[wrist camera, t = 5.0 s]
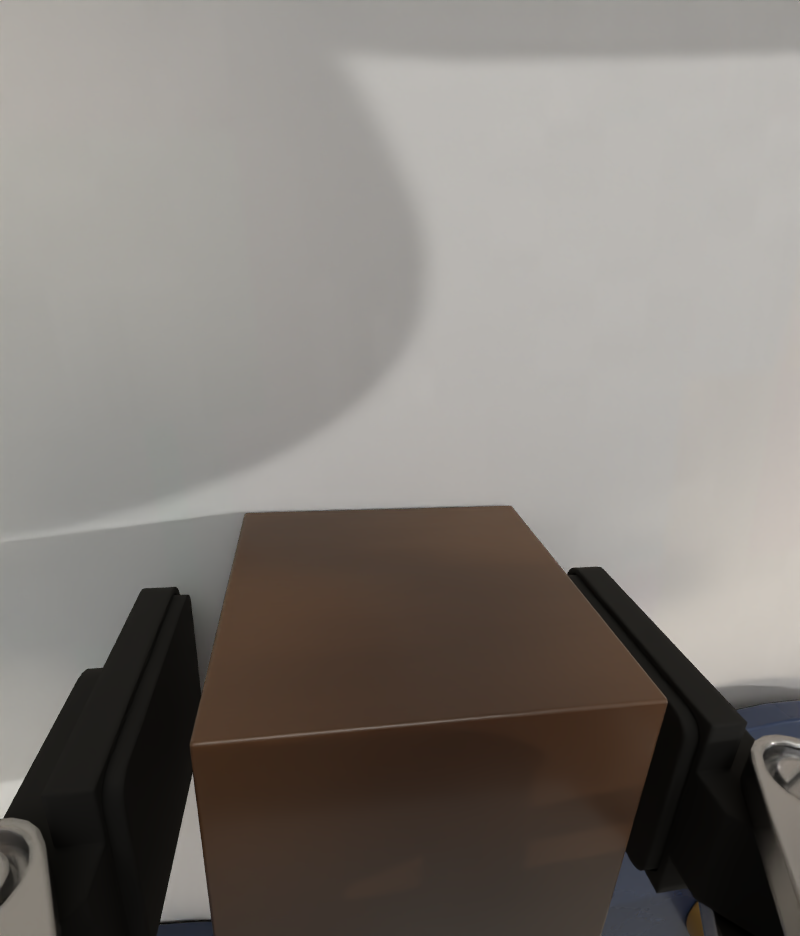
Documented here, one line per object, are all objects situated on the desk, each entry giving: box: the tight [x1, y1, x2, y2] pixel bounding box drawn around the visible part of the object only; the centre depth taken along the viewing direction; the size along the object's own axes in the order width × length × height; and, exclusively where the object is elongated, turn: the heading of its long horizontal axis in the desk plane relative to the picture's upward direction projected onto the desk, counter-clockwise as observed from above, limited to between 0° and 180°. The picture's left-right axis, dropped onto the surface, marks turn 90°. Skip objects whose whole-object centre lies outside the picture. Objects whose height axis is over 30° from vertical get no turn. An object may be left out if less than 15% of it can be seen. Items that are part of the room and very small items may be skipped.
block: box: [189, 506, 668, 936], centre depth 9 cm, size 5×5×5 cm
